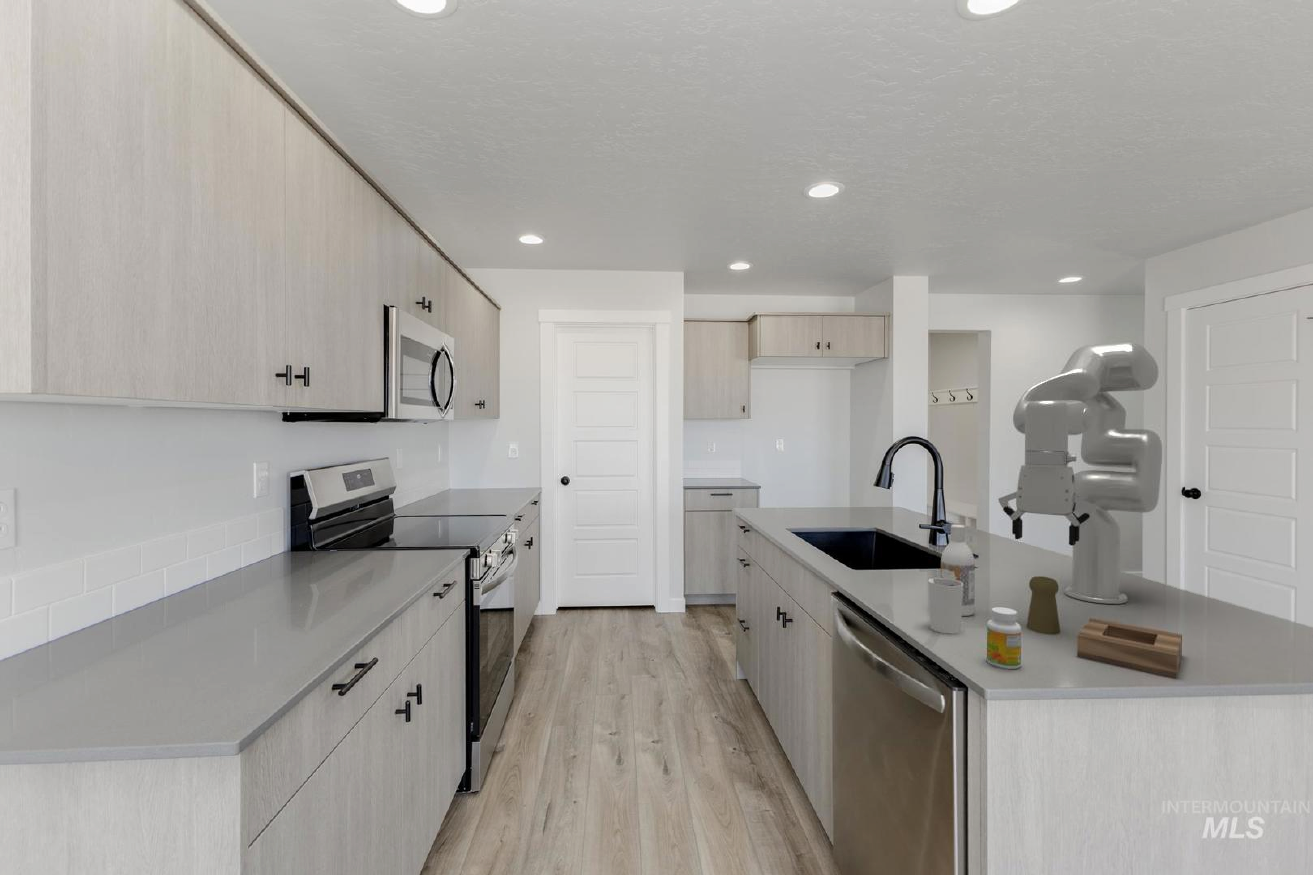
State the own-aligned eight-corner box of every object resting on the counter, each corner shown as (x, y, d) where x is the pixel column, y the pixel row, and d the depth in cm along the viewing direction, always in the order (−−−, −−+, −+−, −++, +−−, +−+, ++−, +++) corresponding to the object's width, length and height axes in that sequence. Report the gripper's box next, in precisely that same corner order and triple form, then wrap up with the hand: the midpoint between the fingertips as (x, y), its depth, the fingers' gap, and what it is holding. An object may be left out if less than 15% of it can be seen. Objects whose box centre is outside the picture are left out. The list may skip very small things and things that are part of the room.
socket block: (1090, 637, 122) (1090, 617, 122) (1181, 655, 112) (1182, 634, 112) (1077, 656, 112) (1077, 635, 112) (1176, 678, 102) (1176, 655, 102)
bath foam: (933, 609, 140) (934, 524, 140) (955, 605, 143) (956, 522, 143) (959, 618, 134) (959, 529, 134) (981, 614, 137) (982, 526, 136)
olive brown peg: (1065, 635, 123) (1066, 581, 123) (1033, 633, 124) (1033, 580, 124) (1052, 625, 129) (1053, 574, 129) (1021, 623, 130) (1022, 573, 130)
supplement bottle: (980, 658, 111) (980, 606, 111) (1007, 657, 112) (1008, 605, 112) (999, 670, 106) (999, 615, 106) (1028, 669, 106) (1028, 614, 106)
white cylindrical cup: (945, 622, 131) (946, 576, 131) (970, 632, 125) (970, 584, 125) (921, 625, 129) (921, 579, 129) (944, 636, 123) (945, 587, 123)
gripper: (1099, 460, 122) (1098, 544, 122) (1004, 457, 134) (1003, 533, 134) (1093, 462, 117) (1092, 550, 117) (994, 458, 129) (993, 538, 129)
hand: (1044, 541), depth 126 cm, fingers open, 9 cm apart
